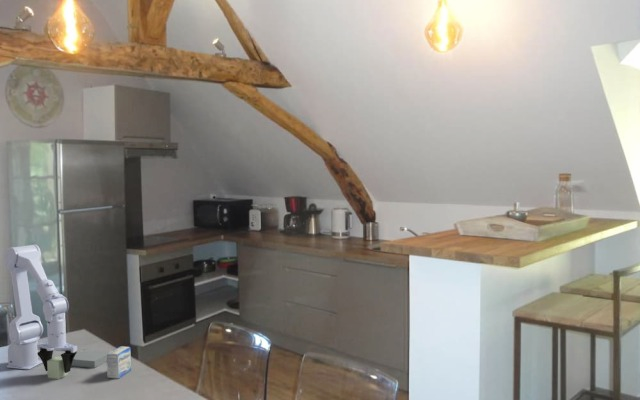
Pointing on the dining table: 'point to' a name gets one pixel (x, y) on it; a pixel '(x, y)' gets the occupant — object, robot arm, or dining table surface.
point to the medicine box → (118, 362)
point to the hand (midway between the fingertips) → (57, 370)
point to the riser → (90, 358)
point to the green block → (56, 368)
